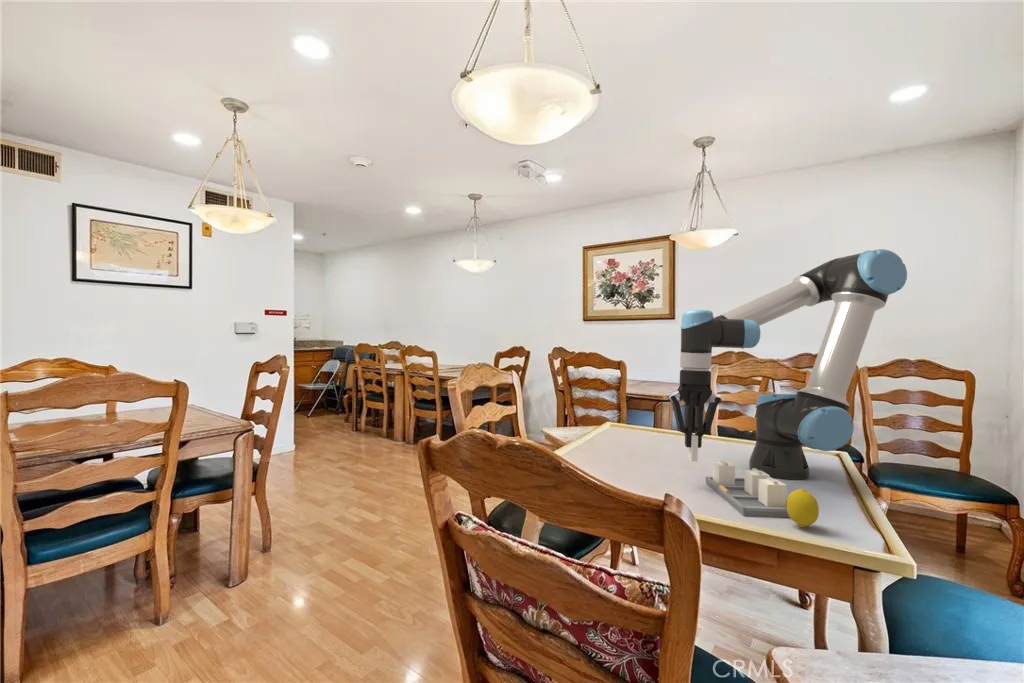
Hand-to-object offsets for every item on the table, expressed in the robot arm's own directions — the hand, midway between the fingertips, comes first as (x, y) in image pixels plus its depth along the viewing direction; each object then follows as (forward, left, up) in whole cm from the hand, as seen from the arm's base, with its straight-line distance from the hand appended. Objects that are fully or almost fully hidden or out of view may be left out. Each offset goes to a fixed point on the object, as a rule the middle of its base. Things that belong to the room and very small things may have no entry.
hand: (692, 459), depth 114 cm
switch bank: (-10, +7, -7) cm, 15 cm away
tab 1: (-8, 0, -6) cm, 10 cm away
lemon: (-14, +23, -8) cm, 28 cm away
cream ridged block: (-13, +7, -6) cm, 16 cm away
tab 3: (-13, +14, -6) cm, 20 cm away
